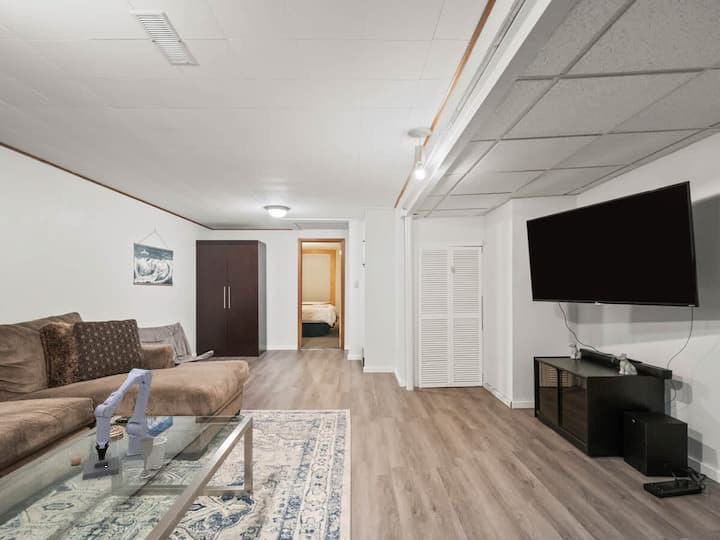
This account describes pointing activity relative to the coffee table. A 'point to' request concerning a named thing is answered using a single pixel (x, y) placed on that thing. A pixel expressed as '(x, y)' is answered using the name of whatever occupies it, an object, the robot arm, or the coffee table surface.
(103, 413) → the robot arm
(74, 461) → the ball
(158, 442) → the foam cup
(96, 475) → the grey square frame
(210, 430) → the coffee table surface
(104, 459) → the steel ball
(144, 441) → the chalice
